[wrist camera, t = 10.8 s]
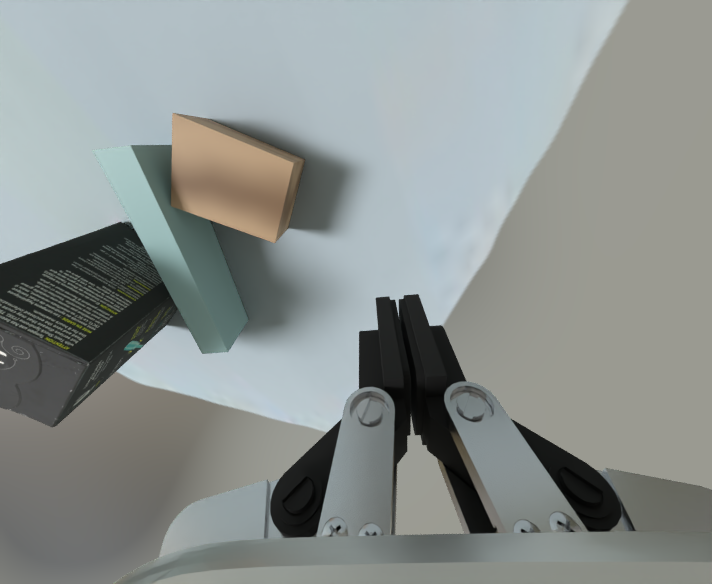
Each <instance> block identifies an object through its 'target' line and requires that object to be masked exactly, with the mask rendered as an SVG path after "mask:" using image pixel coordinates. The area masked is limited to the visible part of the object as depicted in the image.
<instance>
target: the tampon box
mask: <svg viewBox="0 0 712 584" xmlns="http://www.w3.org/2000/svg"><path fill="white" fill-rule="evenodd" d="M176 310H177V306H176V304H175V303H174V301H173V299H172V297H171V295H170V293H169V291H168V290H167V288H166V286H165V284H164V282H163V280H162V279H161V277H160V275H159V273H158V271H157V269H156V267H155V266H154V264H153V262H152V260H151V258H150V256H149V255H148V253H147V251H146V249H145V247H144V245H143V243H142V242H141V240H140V238H139V236H138V234H137V232H135V231H134V230H132V229H131V228H129V227H128V226H126V225H125V224H123V223H122V222H119V223H116V224H113V225H111V226H108V227H105V228H103V229H100V230H97V231H94V232H92V233H89V234H86V235H83V236H80V237H77V238H74V239H71V240H69V241H66V242H63V243H60V244H57V245H54V246H52V247H49V248H46V249H43V250H40V251H37V252H34V253H30V254H27V255H25V256H22V257H19V258H16V259H14V260H11V261H8V262H5V263H2V264H0V407H1V408H3V409H8V410H11V411H14V412H16V413H19V414H21V415H24V416H27V417H29V418H32V419H34V420H37V421H39V422H42V423H43V424H46V425H48V426H50V427H55V426H56V425H57V424H59V423H60V422H61V421H62V420H63V419H64V418H65V417H66V416H68V415H69V414H70V413H71V412H72V411H73V410H74V409H75V408H76V407H77V406H78V405H80V404H81V403H82V402H83V401H84V400H85V399H86V398H87V397H88V396H89V395H91V394H92V393H93V392H94V391H95V390H96V389H97V388H98V387H99V386H100V385H101V384H103V383H104V382H105V381H106V380H107V379H108V378H109V377H110V376H111V375H112V374H113V373H114V372H116V371H117V370H118V369H119V368H120V367H121V366H122V365H123V364H124V363H125V362H127V361H128V360H129V359H130V358H131V357H132V356H133V355H134V354H135V353H136V352H137V351H138V350H140V349H141V348H142V347H143V346H144V345H145V344H146V343H147V342H148V341H149V340H150V339H152V338H153V337H154V336H155V335H156V334H157V333H158V332H159V331H160V330H161V329H163V328H164V327H165V326H166V325H167V323H168V322H169V321H170V319H171V317H172V316H173V314H174V313H175V311H176Z"/></svg>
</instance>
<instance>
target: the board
mask: <svg viewBox="0 0 712 584" xmlns="http://www.w3.org/2000/svg"><path fill="white" fill-rule="evenodd" d="M92 151H93V153H94V155H95V157H96V159H97V160H98V162H99V164H100V166H101V168H102V170H103V171H104V173H105V175H106V177H107V179H108V181H109V183H110V184H111V186H112V188H113V190H114V192H115V194H116V195H117V197H118V199H119V201H120V203H121V205H122V207H123V208H124V210H125V212H126V214H127V216H128V218H129V219H130V221H131V223H132V225H133V227H134V229H135V231H136V232H137V234H138V236H139V238H140V240H141V242H142V243H143V245H144V247H145V249H146V251H147V253H148V255H149V256H150V258H151V260H152V262H153V264H154V266H155V267H156V269H157V271H158V273H159V275H160V277H161V279H162V280H163V282H164V284H165V286H166V288H167V290H168V291H169V293H170V295H171V297H172V299H173V301H174V303H175V304H176V306H177V308H178V310H179V312H180V314H181V315H182V317H183V319H184V321H185V323H186V325H187V327H188V328H189V330H190V332H191V334H192V336H193V338H194V339H195V341H196V343H197V345H198V347H199V349H200V351H201V352H202V354H205V353H219V352H228V351H229V350H230V348H231V346H232V345H233V343H234V342H235V340H236V339H237V337H238V335H239V334H240V332H241V331H242V329H243V328H244V326H245V325H246V323H247V321H248V317H247V314H246V312H245V309H244V307H243V304H242V301H241V299H240V296H239V294H238V291H237V288H236V286H235V283H234V281H233V278H232V276H231V273H230V270H229V268H228V265H227V263H226V260H225V257H224V255H223V252H222V250H221V247H220V245H219V242H218V239H217V237H216V234H215V232H214V229H213V226H212V224H211V221H210V220H208V219H206V218H203V217H200V216H197V215H194V214H191V213H189V212H186V211H183V210H180V209H177V208H175V207H172V206H171V172H172V145H130V146H122V147H114V148H107V149H99V150H92Z"/></svg>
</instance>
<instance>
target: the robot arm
mask: <svg viewBox="0 0 712 584" xmlns="http://www.w3.org/2000/svg"><path fill="white" fill-rule="evenodd" d="M376 306H377V319H378V330H371V331H360V332H359V389H358V390H357V391H355V392H354V393H352V394H351V395H350V397H349V398H348V399H347V401H346V404H345V407H344V411H343V416H342V419H341V420H340V421H339V422H338V423H337V424H336V425H335V426H334V427H333V428H332V429H331V430H330V431H329V432H327V433H326V435H324V436H323V437H322V438H321V439H320V440H319V441H318V442H317V443H316V444H315V445H314V446H313V447H312V448H311V449H310V450H309V451H308V452H306V453H305V454H304V456H302V457H301V458H300V459H299V460H298V461H297V462H296V463H295V464H294V465H293V466H292V467H291V468H290V469H289V470H288V471H287V472H285V473H284V475H283V476H282V477H281V478H280V479H278V480H275V481H272V482H268V480H264V481H261V482H257V483H254V484H251V485H248V486H244V487H241V488H238V489H235V490H231V491H228V492H225V493H221V494H218V495H215V496H211V497H208V498H205V499H202V500H198V501H196V502H194V503H192V504H190V505H189V506H187V507H186V508H185V509H184V510H183V511H182V512H180V513H179V514H178V515H177V517H176V518H175V520H174V521H173V522H172V524H171V525H170V527H169V529H168V532H167V533H166V536H165V538H164V541H163V544H162V547H161V551H160V554H159V557H158V559H156V560H153V561H151V562H149V563H147V564H145V565H143V566H141V567H139V568H137V569H136V570H134V571H132V572H130V573H128V574H127V575H125V576H123V577H122V578H120V579H119V580H117V581H116V582H115V583H113V584H712V490H711V489H708V488H704V487H702V486H697V485H692V484H687V483H682V482H676V481H671V480H666V479H661V478H656V477H650V476H645V475H640V474H635V473H629V472H624V471H619V470H614V469H608V468H605V469H604V470H603V471H599V470H595V469H594V468H592V467H590V466H589V465H588V464H587V463H585V462H583V461H582V460H580V459H578V458H577V457H575V456H573V455H572V454H570V453H568V452H567V451H565V450H563V449H561V448H559V447H558V446H556V445H555V444H553V443H551V442H550V441H548V440H546V439H544V438H543V437H541V436H539V435H538V434H536V433H534V432H532V431H531V430H529V429H527V428H526V427H524V426H522V425H520V424H519V423H517V422H515V421H514V420H512V419H510V417H509V416H508V414H507V413H506V412H505V410H504V409H503V407H502V406H501V405H500V403H499V401H498V400H497V399H496V397H495V396H494V395H493V394H492V393H491V392H490V391H489V390H487V389H486V388H485V387H483V386H480V385H478V384H476V383H472V382H467V381H466V380H465V377H464V375H463V372H462V370H461V368H460V365H459V363H458V360H457V358H456V356H455V353H454V351H453V349H452V346H451V344H450V342H449V339H448V337H447V335H446V332H445V330H444V328H443V326H441V325H440V326H429V323H428V320H427V317H426V315H425V312H424V309H423V306H422V303H421V301H420V298H419V295H418V294H416V295H404V299H399V317H398V312H397V307H396V302H395V300H390V298H389V297H378V298H376ZM411 416H412V422H413V428H414V433H415V435H421V439H422V445H427V450H428V451H429V452H430V453H432V454H433V455H434V456H436V457H437V459H438V464H439V467H440V469H441V472H442V475H443V478H444V480H445V483H446V486H447V488H448V491H449V493H450V496H451V499H452V501H453V504H454V507H455V510H456V512H457V515H458V517H459V520H460V523H461V525H462V528H463V531H464V533H465V534H433V535H396V534H395V533H396V495H397V463H398V462H399V461H400V460H401V458H402V457H403V456H404V455H405V453H406V452H407V435H410V417H411Z"/></svg>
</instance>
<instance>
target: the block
mask: <svg viewBox="0 0 712 584" xmlns="http://www.w3.org/2000/svg"><path fill="white" fill-rule="evenodd" d="M304 163H305V159H303V158H300V157H298V156H295V155H293V154H291V153H288V152H286V151H283V150H281V149H279V148H276V147H274V146H271V145H269V144H267V143H264V142H262V141H260V140H257V139H255V138H252V137H250V136H248V135H245V134H243V133H240V132H238V131H236V130H233V129H231V128H228V127H226V126H224V125H221V124H219V123H216V122H214V121H212V120H209V119H207V118H200V117H194V116H188V115H182V114H176V113H173V115H172V172H171V206H172V207H175V208H177V209H180V210H183V211H186V212H189V213H191V214H194V215H197V216H200V217H203V218H206V219H208V220H211V221H214V222H217V223H220V224H222V225H225V226H228V227H231V228H234V229H236V230H239V231H242V232H245V233H248V234H251V235H253V236H256V237H259V238H262V239H265V240H267V241H270V242H273V243H275V242H276V241H277V240H278V239H279V238H280V237H281V236H282V234H283V233H284V232H285V231H286V230H287V229H288V226H289V222H290V218H291V214H292V210H293V206H294V202H295V198H296V194H297V191H298V187H299V183H300V179H301V175H302V171H303V167H304Z"/></svg>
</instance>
